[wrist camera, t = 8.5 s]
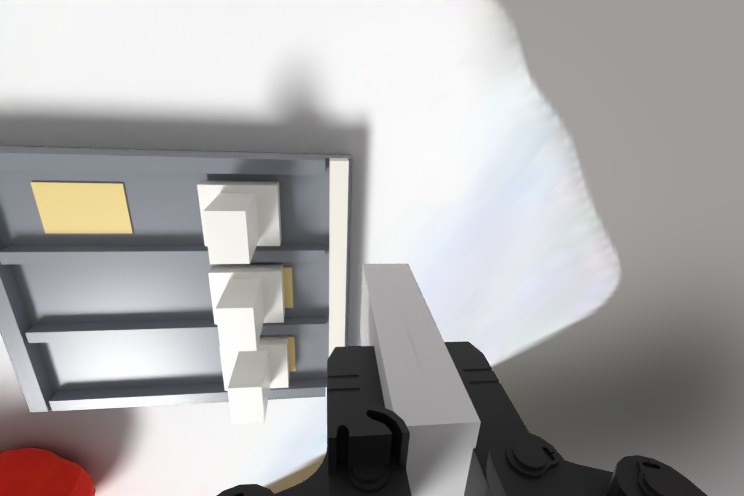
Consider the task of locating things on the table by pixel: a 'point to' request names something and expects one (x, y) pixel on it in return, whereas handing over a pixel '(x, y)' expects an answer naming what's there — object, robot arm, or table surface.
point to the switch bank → (156, 272)
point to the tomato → (41, 474)
